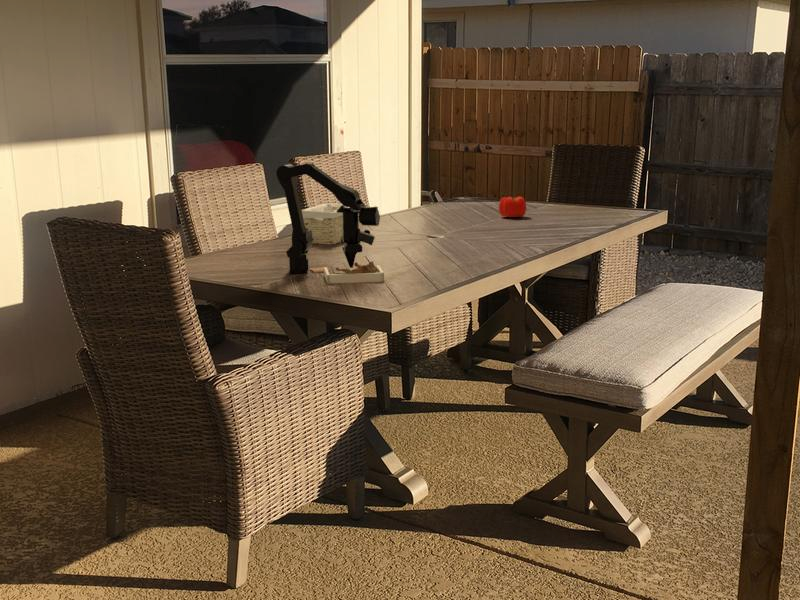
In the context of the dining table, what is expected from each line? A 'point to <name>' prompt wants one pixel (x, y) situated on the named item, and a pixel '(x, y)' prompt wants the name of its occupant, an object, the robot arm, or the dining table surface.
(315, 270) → the terracotta tile
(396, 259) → the dining table surface
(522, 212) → the tomato
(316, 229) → the storage basket
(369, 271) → the lion figurine
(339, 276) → the frame
